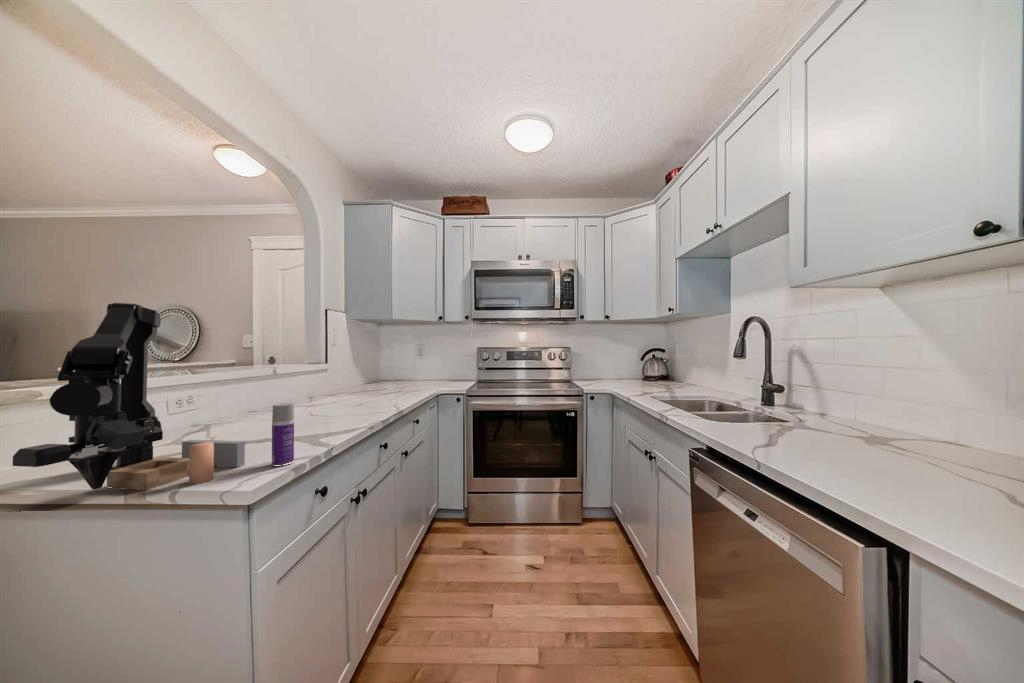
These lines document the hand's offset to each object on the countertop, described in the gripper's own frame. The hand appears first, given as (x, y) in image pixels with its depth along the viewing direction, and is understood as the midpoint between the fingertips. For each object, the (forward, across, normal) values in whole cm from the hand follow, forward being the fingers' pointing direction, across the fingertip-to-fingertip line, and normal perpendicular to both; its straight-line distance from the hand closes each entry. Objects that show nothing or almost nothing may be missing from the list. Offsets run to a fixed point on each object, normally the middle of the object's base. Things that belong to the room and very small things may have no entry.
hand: (96, 488), depth 67 cm
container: (+2, +23, -20) cm, 31 cm away
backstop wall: (+2, +20, -3) cm, 21 cm away
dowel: (+2, +11, -11) cm, 15 cm away
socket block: (+2, +10, 0) cm, 10 cm away
